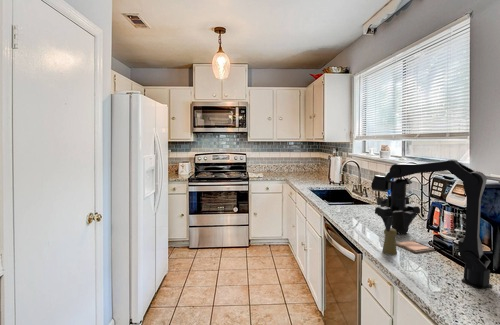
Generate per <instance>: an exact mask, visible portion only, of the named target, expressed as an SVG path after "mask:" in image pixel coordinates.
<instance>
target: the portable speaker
mask: <svg viewBox="0 0 500 325" xmlns="http://www.w3.org/2000/svg"><path fill="white" fill-rule="evenodd" d="M406 204H410V198H409V197H408V199H407V200H406ZM392 217H393V220H392V224H391V228H393V229H395V230H396V231H397V234H399V235H407V233H408V232H409V228H410V226H409V227H408V228H407V230H405V229H404V216H403V214H402V212H397V213H393V215H392Z"/></svg>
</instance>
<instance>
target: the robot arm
mask: <svg viewBox="0 0 500 325" xmlns="http://www.w3.org/2000/svg"><path fill="white" fill-rule="evenodd" d="M446 171H448V172H450V173H451V174H452V175H453V176H454V177H456V178H457V179H458V180H460V181H462V184H463V185H462V186H463V191H464V194H465V197H466V201H465V202H466V204H465V206H466V207H465V226H464V227H465V228H464V230H465V231H464V237H461V238H460V239H459V240H457V245H458V250H457V251H456V252H457V254H458V253H459V257H460V259H461V260H462V261H463V262H464V264H465V265H464V268H463V279H461V282H463V283H465V284H467V285H469V286H470V287H473V288H475V289H478V290H484V289H489V288H491V287H493V285H492V284H491V283H490V280H491V279H490V277H491V276H490V275H491V270H490V269H489V268H488V266H489V265H490V263H491V260H490V258H488V256H486V255H485V254H484V250H483V244H482V241H481V238H480V231H481V230H480V227H481V226H480V225H481V210H482V208H481V207H482V206H481V205H482V196H483V193H484V190H485V188H486V185H487V180H488V179H487V176H486V175H485V173H483V172H481V171H478V170H477V171H475V170H474V169H472V168H470V167H468V166H467V165H464V164H463V163H461V162H459V161H458V160H457V159H448V160H443V161H433V162H432V161H431V162H426V163H405V162H401V163H394V164H392V165H391V166H390V168H389V171H388V172H387V174H386V175H385V176H384V175H379V174H375V175H374V176H373V179H372V182H371V184H370V186H371V190H372V191H376V192H382V193H387V192H389V191H390V194H388V195H387V198H384V197H377V198H376V205H377V206H376V207H375V209H374V214H375V215H377V216H378V217H380V218H381V220H382V222H383V224H384V225H383V226H384V227H385V228H384V229H386V231H388V232H389V231H390V228H392V226H391V224H392V220H393V217H392V215H393V213H397V212H402V214H403V216H404V229H405V230H407V228H408V227H409V228H410V225H411V223H412V222H413V221H414V219H415V218H416V217H417V216H418V214H420V213H421V208H420V206H419V205H414V204H411V203H409V204H406V200H407V199H408V198H409V196H407V185H411V184H412V183H413V181H412V180H410V179H409V177H408V176H412V175H416V174H425V173H434V172H435V173H436V172H446ZM405 177H406V178H405ZM409 228H408V229H409Z"/></svg>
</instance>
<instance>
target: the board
mask: <svg viewBox="0 0 500 325" xmlns="http://www.w3.org/2000/svg"><path fill="white" fill-rule="evenodd" d="M431 240H432V239H430V238H421V239H413V240H407V241H406V240H405V241H400V242H396V247H400V248H402V249H404V250H407V251H409V252H410V253H411V252H412V253H413V254H417V255H418V254H423V253H428V252H435V251H434V250H435V249H434V247H432V246H430V245H429V244H428V242H429V241H431Z"/></svg>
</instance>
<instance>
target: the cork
mask: <svg viewBox="0 0 500 325" xmlns="http://www.w3.org/2000/svg"><path fill="white" fill-rule="evenodd" d="M383 234H384V235H385V236H384V240H383V246H382V251H381V252H382V253H383V254H386V255H389V256H396V255H397V254H398V251H397V245H396V243H397V241H396V236H397V234H398V232H397V231H396V230H395V229H393V228H392V227H391V228H390V231H389V232H388V231H386V228H384V230H383Z"/></svg>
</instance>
